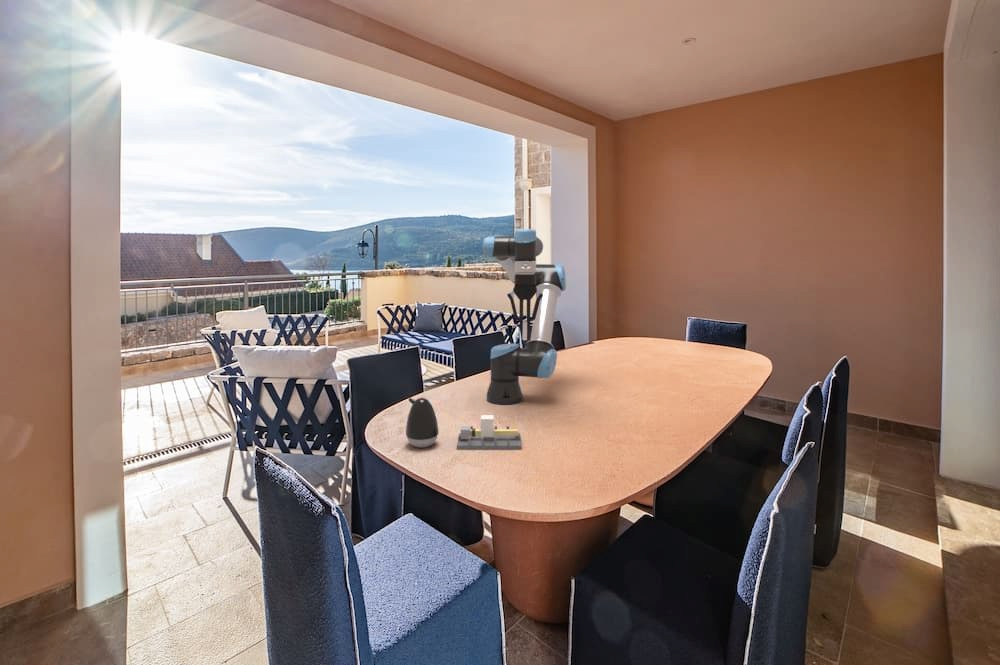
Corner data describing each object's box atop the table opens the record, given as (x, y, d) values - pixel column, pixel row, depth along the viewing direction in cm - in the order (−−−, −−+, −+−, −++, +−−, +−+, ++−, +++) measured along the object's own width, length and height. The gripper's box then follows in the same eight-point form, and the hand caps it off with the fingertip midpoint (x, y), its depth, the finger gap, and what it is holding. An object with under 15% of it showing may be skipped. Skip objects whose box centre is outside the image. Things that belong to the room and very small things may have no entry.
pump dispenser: (421, 436, 161) (420, 391, 159) (445, 443, 155) (444, 396, 153) (398, 446, 153) (397, 399, 150) (423, 453, 147) (422, 404, 145)
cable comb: (456, 449, 150) (456, 434, 149) (459, 436, 161) (459, 422, 160) (521, 449, 150) (521, 434, 149) (520, 436, 161) (520, 422, 160)
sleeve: (480, 436, 153) (480, 419, 152) (481, 432, 157) (481, 415, 156) (493, 436, 153) (493, 419, 152) (493, 432, 157) (493, 415, 156)
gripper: (506, 274, 168) (506, 341, 172) (544, 274, 168) (543, 341, 172) (506, 273, 176) (506, 337, 179) (542, 273, 176) (541, 337, 179)
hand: (524, 339), depth 175 cm, fingers closed
